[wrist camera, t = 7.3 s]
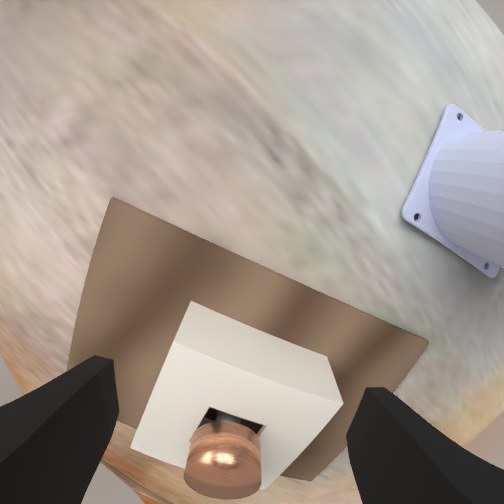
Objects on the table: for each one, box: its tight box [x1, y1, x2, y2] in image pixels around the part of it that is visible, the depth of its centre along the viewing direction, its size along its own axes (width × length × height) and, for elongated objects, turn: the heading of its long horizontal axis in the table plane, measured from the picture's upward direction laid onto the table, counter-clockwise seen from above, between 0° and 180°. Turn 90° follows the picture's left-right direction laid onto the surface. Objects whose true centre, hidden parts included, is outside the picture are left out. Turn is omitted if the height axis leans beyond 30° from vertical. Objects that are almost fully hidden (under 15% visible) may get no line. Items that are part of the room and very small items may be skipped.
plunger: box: [184, 410, 262, 499], centre depth 16 cm, size 4×4×7 cm
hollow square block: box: [130, 301, 344, 490], centre depth 18 cm, size 9×9×5 cm
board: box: [67, 197, 429, 481], centre depth 20 cm, size 22×16×1 cm
